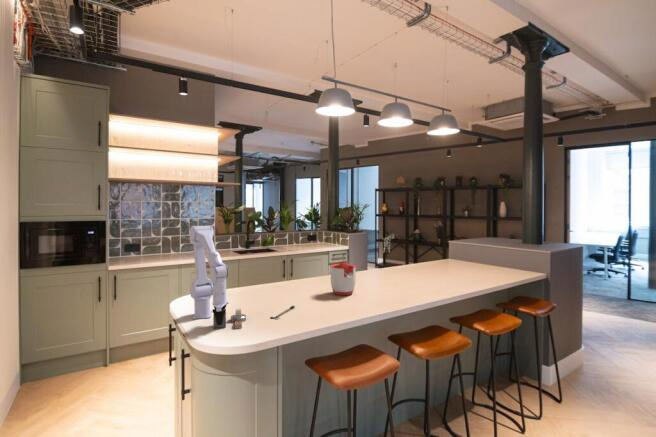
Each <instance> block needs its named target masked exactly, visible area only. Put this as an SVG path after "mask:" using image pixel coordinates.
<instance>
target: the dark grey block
mask: <svg viewBox="0 0 656 437" xmlns="http://www.w3.org/2000/svg"><path fill="white" fill-rule="evenodd" d="M212 317H213V319H212V320H213V330H215V329H225V328H227V311H225V313H224V316H223V323H222V325H217V323H216V319H215V315H214V314H213V316H212Z"/></svg>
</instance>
